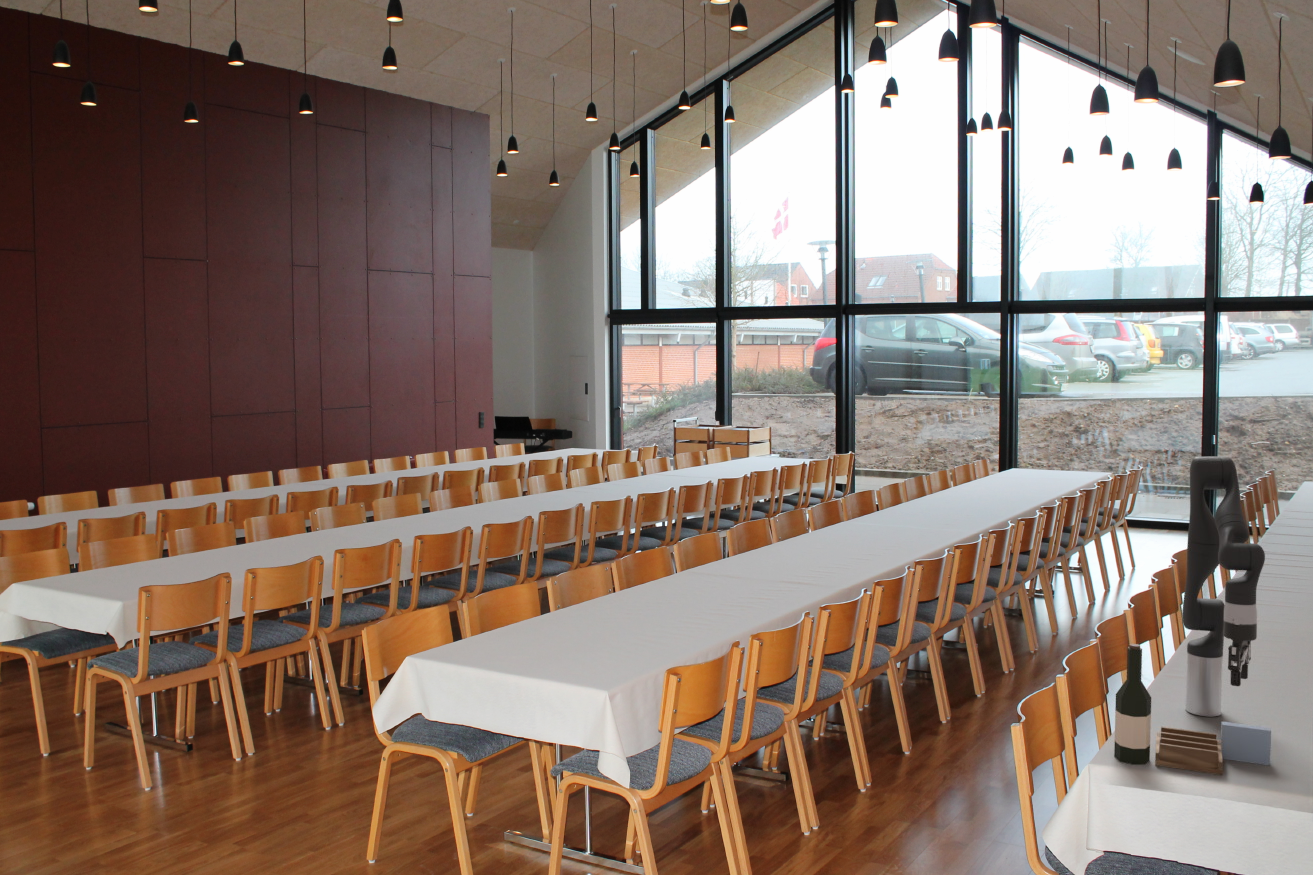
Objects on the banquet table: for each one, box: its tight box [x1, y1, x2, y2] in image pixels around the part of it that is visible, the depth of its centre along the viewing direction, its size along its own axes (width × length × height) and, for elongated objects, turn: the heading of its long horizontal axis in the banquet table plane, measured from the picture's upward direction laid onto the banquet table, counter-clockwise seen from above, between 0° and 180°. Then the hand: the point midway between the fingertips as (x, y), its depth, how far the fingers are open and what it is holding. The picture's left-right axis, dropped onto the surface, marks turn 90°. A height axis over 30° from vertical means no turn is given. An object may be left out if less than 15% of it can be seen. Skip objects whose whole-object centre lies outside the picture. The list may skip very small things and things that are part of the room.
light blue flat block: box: [1220, 721, 1272, 766], centre depth 269 cm, size 2×11×9 cm, turn 63°
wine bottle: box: [1113, 643, 1152, 766], centre depth 270 cm, size 8×8×30 cm
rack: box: [1154, 726, 1223, 776], centre depth 270 cm, size 16×15×5 cm
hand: (1239, 681), depth 271 cm, fingers open, 8 cm apart
